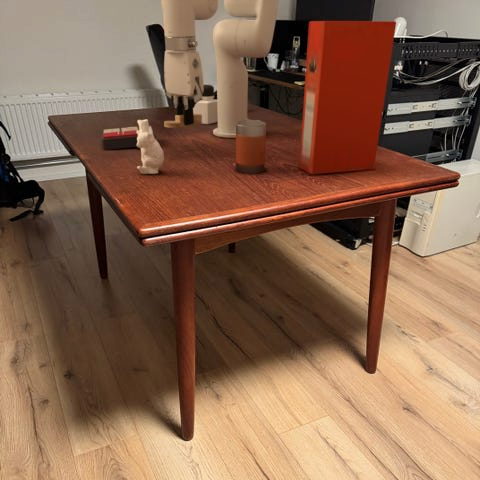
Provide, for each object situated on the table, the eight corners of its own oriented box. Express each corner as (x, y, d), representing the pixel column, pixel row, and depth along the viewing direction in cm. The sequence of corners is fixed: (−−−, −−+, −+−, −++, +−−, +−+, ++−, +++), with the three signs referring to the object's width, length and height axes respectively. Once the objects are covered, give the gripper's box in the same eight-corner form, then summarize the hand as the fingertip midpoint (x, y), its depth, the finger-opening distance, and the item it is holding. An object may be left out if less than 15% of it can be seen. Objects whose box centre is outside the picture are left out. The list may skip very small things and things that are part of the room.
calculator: (101, 128, 143) (152, 124, 145) (104, 143, 145) (154, 138, 148) (101, 136, 134) (154, 131, 136) (104, 152, 136) (156, 147, 139)
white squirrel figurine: (132, 169, 120) (127, 118, 113) (158, 166, 122) (154, 116, 116) (141, 178, 113) (135, 125, 107) (168, 175, 116) (164, 123, 109)
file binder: (298, 166, 123) (309, 20, 106) (357, 161, 128) (377, 20, 110) (312, 175, 117) (325, 21, 99) (373, 169, 121) (397, 21, 104)
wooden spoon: (193, 123, 133) (193, 113, 132) (205, 125, 131) (205, 115, 130) (160, 126, 124) (160, 115, 123) (172, 128, 122) (172, 117, 121)
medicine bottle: (219, 121, 172) (219, 84, 166) (208, 124, 167) (207, 87, 160) (203, 119, 175) (202, 83, 169) (192, 122, 170) (190, 85, 164)
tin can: (256, 164, 124) (257, 118, 118) (269, 171, 119) (271, 124, 113) (230, 168, 122) (230, 121, 115) (243, 175, 116) (244, 127, 110)
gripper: (214, 45, 116) (216, 125, 126) (169, 42, 124) (174, 117, 135) (193, 47, 111) (197, 130, 122) (147, 44, 119) (155, 122, 130)
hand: (185, 123), depth 128 cm, fingers closed on wooden spoon
